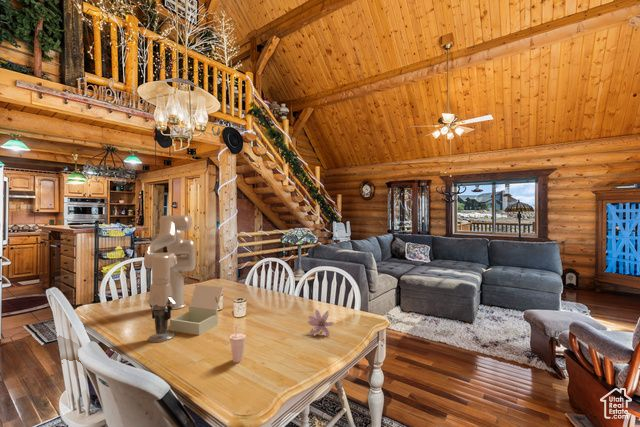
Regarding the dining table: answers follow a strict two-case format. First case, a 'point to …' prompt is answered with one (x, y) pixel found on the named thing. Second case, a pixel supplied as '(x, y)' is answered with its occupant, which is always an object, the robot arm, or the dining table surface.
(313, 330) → the water lily
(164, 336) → the coaster
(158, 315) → the beverage cup
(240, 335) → the smoothie
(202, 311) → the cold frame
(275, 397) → the dining table surface
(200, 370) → the dining table surface
